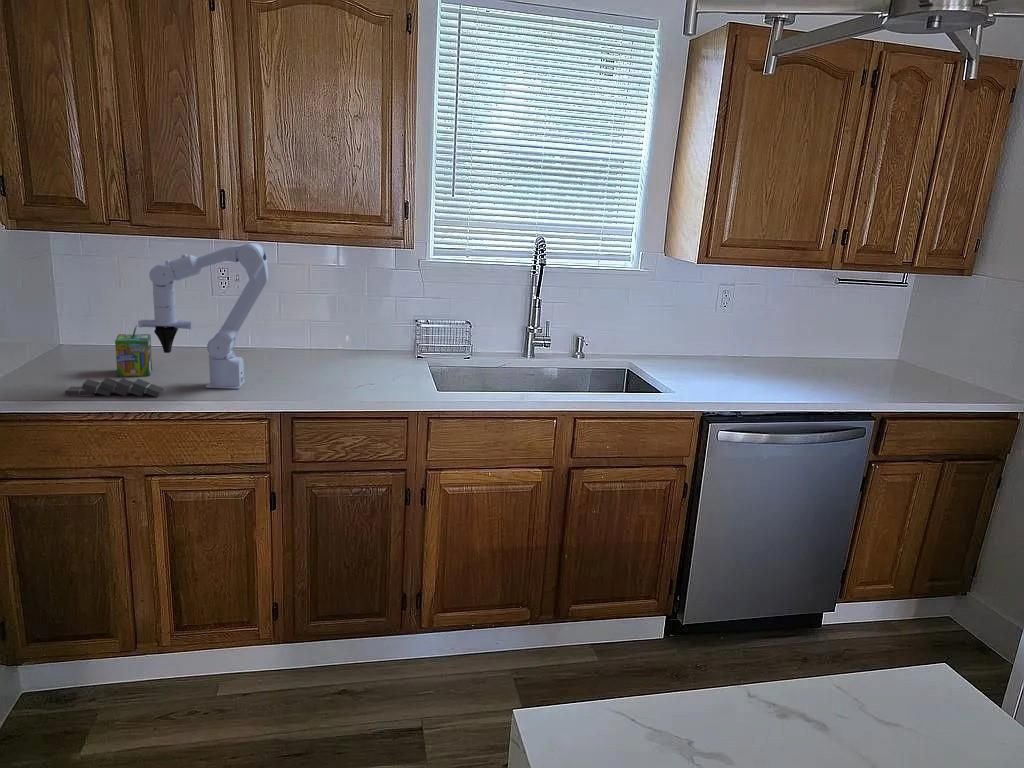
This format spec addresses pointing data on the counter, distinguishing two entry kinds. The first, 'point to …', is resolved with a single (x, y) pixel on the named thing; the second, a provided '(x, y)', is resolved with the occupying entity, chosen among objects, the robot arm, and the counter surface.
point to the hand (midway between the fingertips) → (167, 352)
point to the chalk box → (133, 354)
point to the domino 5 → (147, 388)
